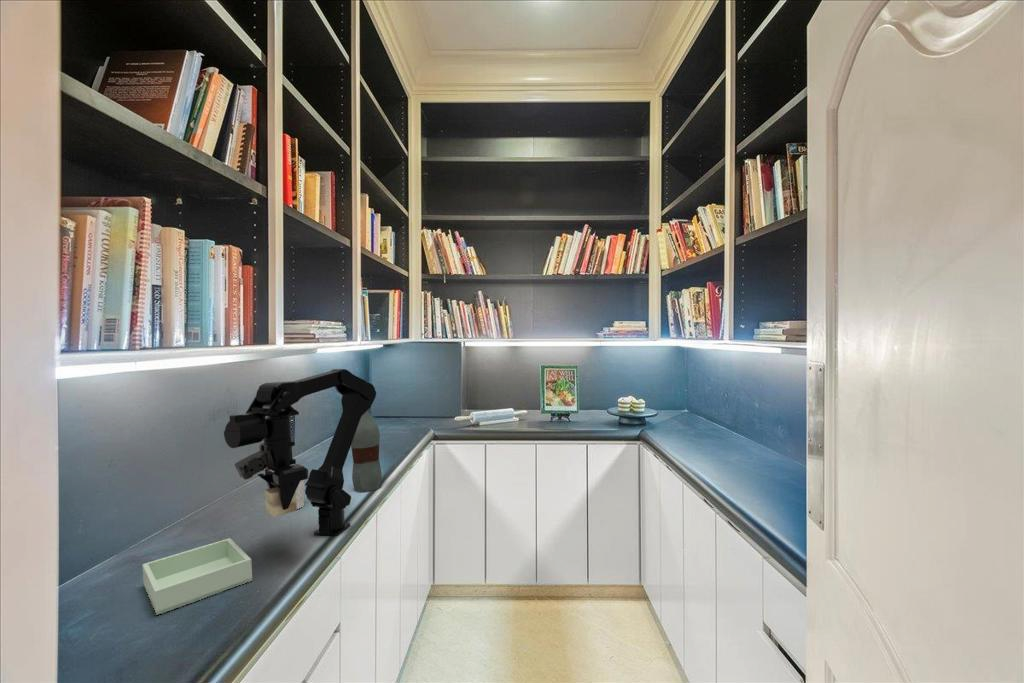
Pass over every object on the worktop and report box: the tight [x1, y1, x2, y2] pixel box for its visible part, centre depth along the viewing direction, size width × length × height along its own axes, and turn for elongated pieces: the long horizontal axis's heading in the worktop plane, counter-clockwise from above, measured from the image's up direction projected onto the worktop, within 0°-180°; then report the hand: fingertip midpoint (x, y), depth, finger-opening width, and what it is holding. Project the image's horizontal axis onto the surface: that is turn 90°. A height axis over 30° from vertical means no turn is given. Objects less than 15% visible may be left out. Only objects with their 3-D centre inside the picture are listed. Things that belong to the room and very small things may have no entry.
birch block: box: [264, 487, 298, 518], centre depth 107 cm, size 5×5×5 cm
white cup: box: [296, 480, 306, 510], centre depth 137 cm, size 8×8×10 cm
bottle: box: [350, 410, 383, 493], centre depth 152 cm, size 9×9×30 cm
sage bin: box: [142, 537, 253, 616], centre depth 95 cm, size 16×16×4 cm
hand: (281, 506), depth 107 cm, fingers closed on birch block, 5 cm apart
